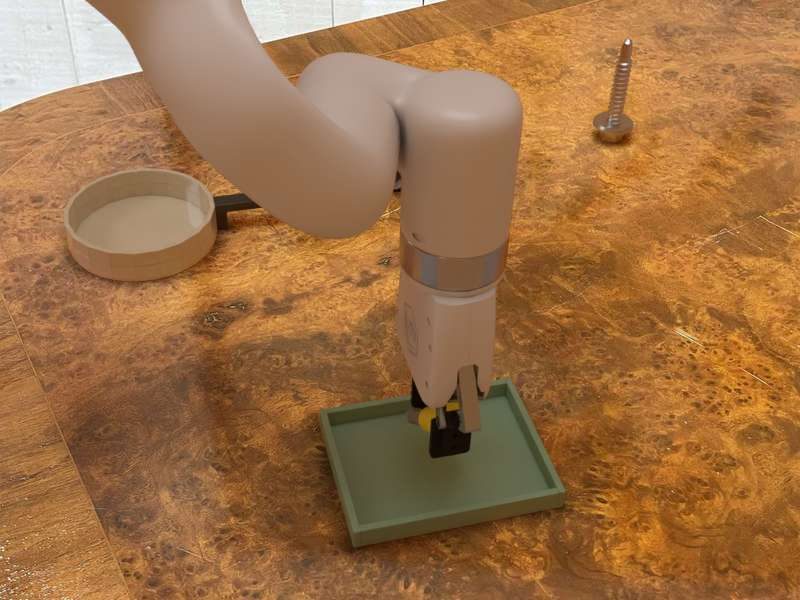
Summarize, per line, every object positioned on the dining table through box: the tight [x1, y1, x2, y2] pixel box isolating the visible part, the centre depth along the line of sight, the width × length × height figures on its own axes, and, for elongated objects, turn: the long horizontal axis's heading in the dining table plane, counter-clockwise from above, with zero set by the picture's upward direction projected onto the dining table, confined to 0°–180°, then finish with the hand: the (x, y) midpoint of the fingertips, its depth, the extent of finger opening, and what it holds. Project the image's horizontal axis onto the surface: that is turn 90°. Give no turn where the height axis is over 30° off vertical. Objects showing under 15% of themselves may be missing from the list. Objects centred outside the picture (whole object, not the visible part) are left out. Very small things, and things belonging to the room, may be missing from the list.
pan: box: [63, 167, 218, 282], centre depth 110 cm, size 15×15×4 cm
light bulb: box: [406, 403, 459, 433], centre depth 85 cm, size 3×6×4 cm, turn 58°
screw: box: [592, 37, 635, 144], centre depth 125 cm, size 13×5×5 cm
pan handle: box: [213, 192, 263, 231], centre depth 113 cm, size 10×2×3 cm, turn 105°
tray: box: [318, 377, 567, 549], centre depth 88 cm, size 17×13×2 cm
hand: (439, 426), depth 85 cm, fingers closed on light bulb, 4 cm apart
